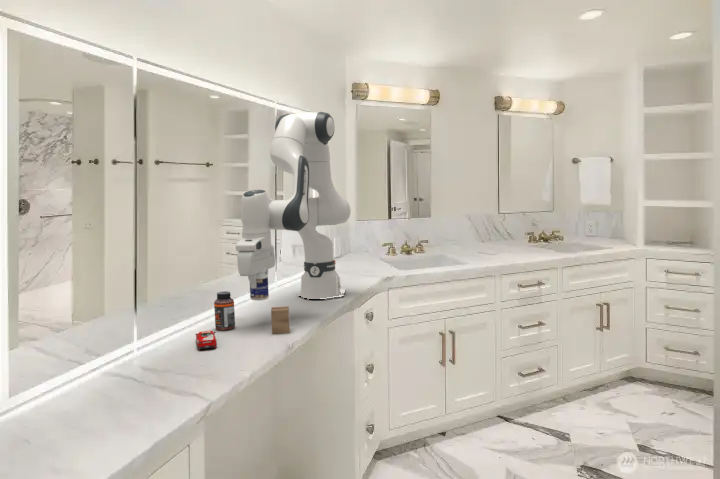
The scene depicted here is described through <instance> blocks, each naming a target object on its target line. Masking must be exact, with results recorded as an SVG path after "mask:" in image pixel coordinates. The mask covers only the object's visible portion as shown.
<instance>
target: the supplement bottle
mask: <svg viewBox="0 0 720 479" xmlns="http://www.w3.org/2000/svg"><path fill="white" fill-rule="evenodd" d="M231 296H232V295H231V291H218V292H216V299H215V300H214V302H213V305H214V306H213V307H214V309H213V310H214V325H215V326H214V328H215V330H216V331H221V332H222V331H223V332H224V331H230V330H233V329H235V328H236V318H235V317H236V316H235V313H236V312H235V301H234V299H233V298H231Z"/></svg>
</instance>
